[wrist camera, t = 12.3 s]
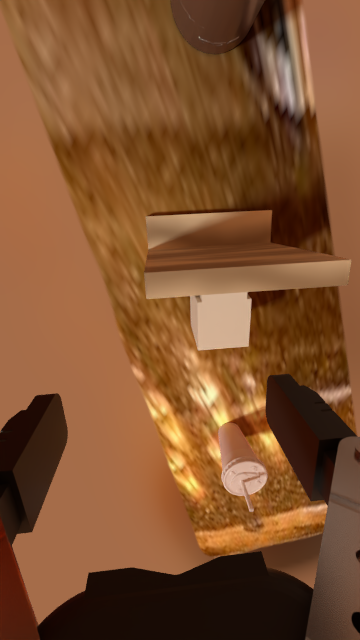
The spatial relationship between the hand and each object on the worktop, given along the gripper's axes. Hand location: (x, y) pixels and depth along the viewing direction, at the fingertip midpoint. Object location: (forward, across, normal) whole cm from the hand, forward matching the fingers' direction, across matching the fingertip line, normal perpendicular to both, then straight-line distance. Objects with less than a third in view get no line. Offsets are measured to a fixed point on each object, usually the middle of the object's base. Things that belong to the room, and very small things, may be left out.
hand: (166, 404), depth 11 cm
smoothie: (+30, -10, +28) cm, 42 cm away
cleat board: (+30, -7, -2) cm, 31 cm away
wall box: (+28, -7, +4) cm, 29 cm away
